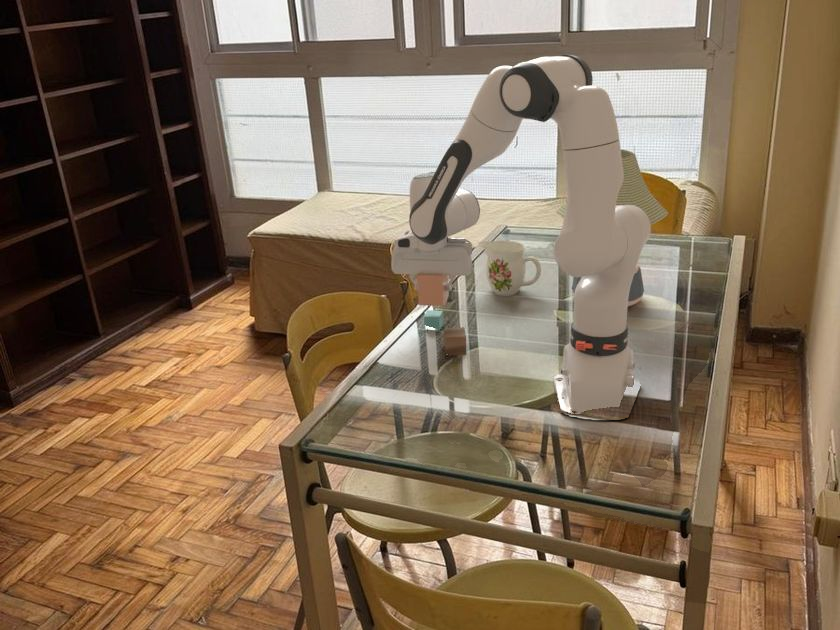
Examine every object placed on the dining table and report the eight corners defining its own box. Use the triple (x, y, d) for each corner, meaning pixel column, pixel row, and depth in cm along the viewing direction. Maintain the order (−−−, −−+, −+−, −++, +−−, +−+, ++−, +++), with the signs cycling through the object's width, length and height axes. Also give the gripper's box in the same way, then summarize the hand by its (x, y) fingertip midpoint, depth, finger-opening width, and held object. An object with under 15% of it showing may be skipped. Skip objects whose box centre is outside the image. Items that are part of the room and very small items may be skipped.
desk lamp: (664, 322, 203) (678, 160, 186) (551, 317, 209) (554, 160, 192) (658, 283, 226) (669, 136, 209) (556, 281, 232) (559, 137, 215)
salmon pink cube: (443, 306, 200) (442, 276, 197) (418, 305, 202) (416, 275, 198) (448, 296, 206) (447, 267, 203) (424, 295, 207) (422, 266, 204)
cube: (439, 331, 205) (439, 317, 203) (424, 330, 206) (423, 316, 204) (443, 325, 208) (442, 311, 207) (428, 324, 209) (427, 310, 208)
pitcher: (534, 302, 218) (535, 255, 213) (472, 295, 225) (471, 249, 220) (545, 287, 228) (546, 241, 222) (485, 281, 234) (484, 236, 229)
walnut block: (466, 354, 192) (465, 336, 190) (445, 356, 192) (444, 337, 190) (464, 345, 197) (464, 327, 195) (444, 346, 197) (443, 328, 195)
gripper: (474, 234, 197) (476, 286, 203) (394, 233, 202) (398, 284, 208) (469, 242, 192) (471, 296, 197) (387, 241, 197) (391, 293, 202)
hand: (433, 289), depth 203 cm, fingers closed on salmon pink cube, 6 cm apart
